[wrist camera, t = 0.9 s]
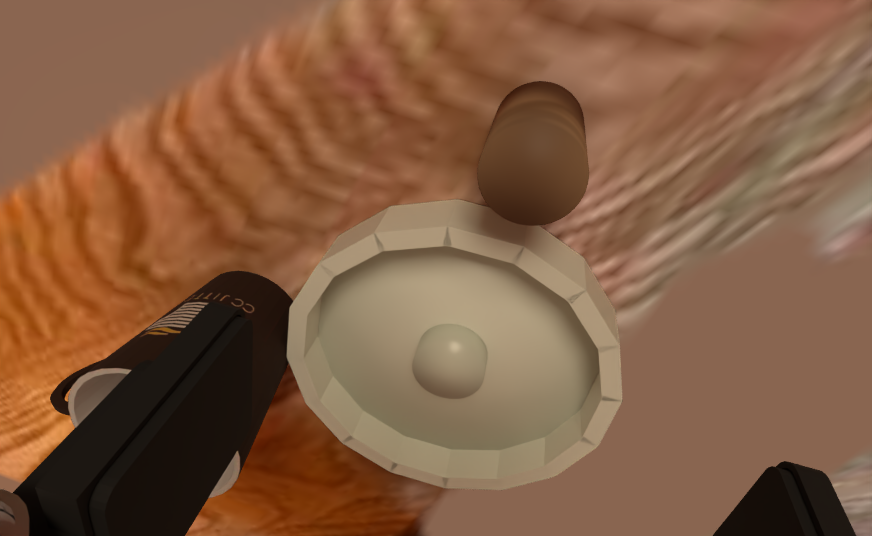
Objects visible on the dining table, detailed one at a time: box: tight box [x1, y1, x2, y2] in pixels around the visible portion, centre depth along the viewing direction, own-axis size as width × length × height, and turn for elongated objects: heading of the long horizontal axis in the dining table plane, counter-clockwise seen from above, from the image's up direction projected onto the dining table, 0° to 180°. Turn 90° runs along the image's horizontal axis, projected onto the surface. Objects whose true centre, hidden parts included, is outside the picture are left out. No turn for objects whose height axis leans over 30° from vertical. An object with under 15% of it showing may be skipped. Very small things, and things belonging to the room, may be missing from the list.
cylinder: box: [477, 81, 589, 226], centre depth 23 cm, size 4×4×6 cm
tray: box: [287, 199, 622, 490], centre depth 32 cm, size 18×18×3 cm
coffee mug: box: [50, 271, 293, 498], centre depth 31 cm, size 12×9×10 cm
